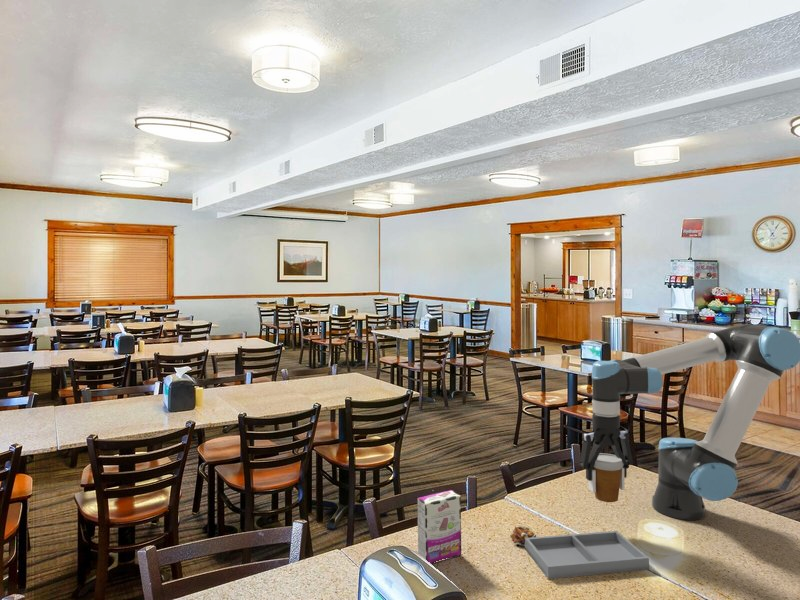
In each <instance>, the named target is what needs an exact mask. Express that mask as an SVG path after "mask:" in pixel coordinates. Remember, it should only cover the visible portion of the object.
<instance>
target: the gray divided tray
mask: <svg viewBox="0 0 800 600" xmlns="http://www.w3.org/2000/svg"><path fill="white" fill-rule="evenodd" d="M524 549H525V551H526V552H527V554H528V555H529V556H530V557H531V559H532V560H533V561H534V563H535V564H536V565H537V566H538V568H539V570H541V572H542V573H543V574H544V576H545V577H546V578H547V579H560V578H570V577H571V578H573V577H583V576H584V577H585V576H591V575H604V574H614V573H625V572H637V571H646V570H649V569H650V557H649V556H648V555H646V554H645V553H644V552H643V551H642V550H640V548H638V547H637V546H636V545H634V543H632V542H631V541H629V539H627V538H626V537H625V536H623V535H622V534H621V533H620V532H619V531H617V530H610V531H608V530H607V531H599V532H598V531H597V532H586V533H585V532H584V533H583V532H582V533H572V534H560V535H559V534H558V535H546V536H545V535H544V536H536V537H532V538H525V546H524Z"/></svg>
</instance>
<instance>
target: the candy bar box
mask: <svg viewBox="0 0 800 600" xmlns="http://www.w3.org/2000/svg"><path fill="white" fill-rule="evenodd" d="M461 497H462V496H461V495H460V494H458V493H457V492H456V491H454V490H451V489H449V490H445V491H441V492H437V493H432V494H428V495H425V496H420V497H417V502H416V503H417V541H418V542H417V551H418V552H417V553H418V554H420V555H421V556H423V557H424V558H425V559H426V560H427V561H428V562H430V563H432V564H431V565H433V563H434V562H436V561H439V560H442V559H446V558H450V557H453V558H456V557H455V556H457V557H459V556H458V555H460V556H462V504H461V501H462V499H461ZM418 554H417V555H418ZM450 559H451V558H450ZM434 564H435V563H434Z"/></svg>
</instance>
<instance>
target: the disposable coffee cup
mask: <svg viewBox="0 0 800 600" xmlns="http://www.w3.org/2000/svg"><path fill="white" fill-rule="evenodd" d="M623 465H624V464H623V463H622V459H620V458H618V457H617V456H616V455H615V454H611V453H605V452H604V453H601V452H600V453H599V456H598V458H597V460H596V461H595V465H594V467H593V469H594V470H595V471H596V492H595V493H594V497H595V499H596V500H598V501H600V502H603V503H615V502H618V500H619V497H620V496H619V494H620V480H621V472H622V468H623Z"/></svg>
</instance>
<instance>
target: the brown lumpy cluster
mask: <svg viewBox="0 0 800 600" xmlns="http://www.w3.org/2000/svg"><path fill="white" fill-rule="evenodd" d="M512 532H513V533H512V534H511V535H510V538H511V540H512V541H513V544H515V545H519V546H524V547H525V538H532V537H537V535H536V534H535V532H533V531H532V530H530V527H528V526H526V527H525V526H522V525H521V524H520V525H514V528H513V529H512Z"/></svg>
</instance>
